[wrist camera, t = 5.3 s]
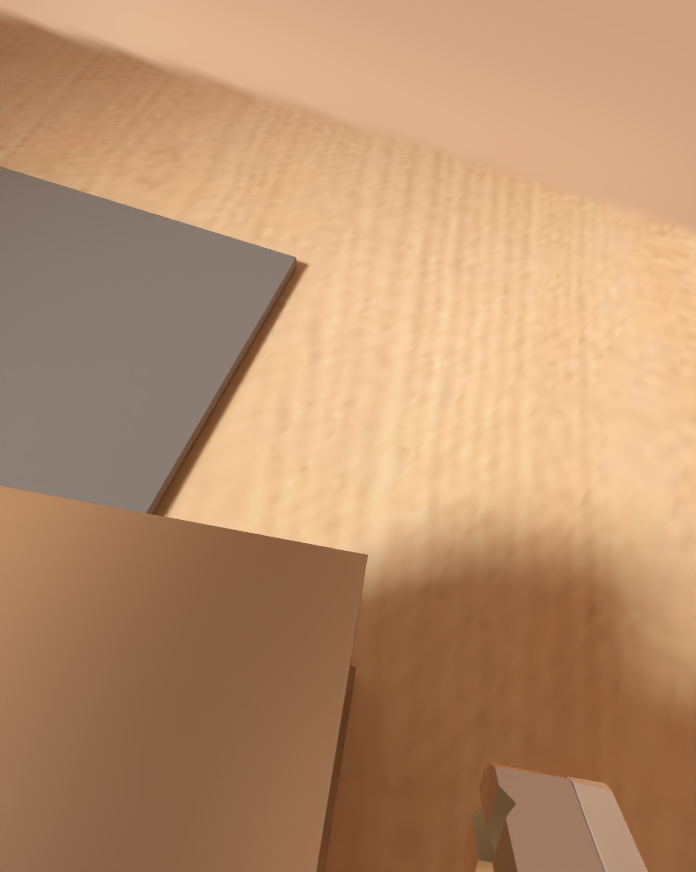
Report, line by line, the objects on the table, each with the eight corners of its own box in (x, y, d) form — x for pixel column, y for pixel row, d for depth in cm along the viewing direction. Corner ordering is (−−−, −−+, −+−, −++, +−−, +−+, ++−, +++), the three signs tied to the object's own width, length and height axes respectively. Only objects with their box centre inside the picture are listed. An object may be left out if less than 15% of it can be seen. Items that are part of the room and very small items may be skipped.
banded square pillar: (53, 895, 11) (-396, 1062, 4) (143, 633, 14) (-35, 443, 6) (309, 948, 11) (322, 1223, 4) (353, 674, 14) (411, 525, 6)
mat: (-328, 442, 15) (-343, 433, 15) (-22, 168, 21) (-27, 158, 21) (95, 611, 14) (91, 606, 14) (296, 266, 20) (296, 257, 20)
